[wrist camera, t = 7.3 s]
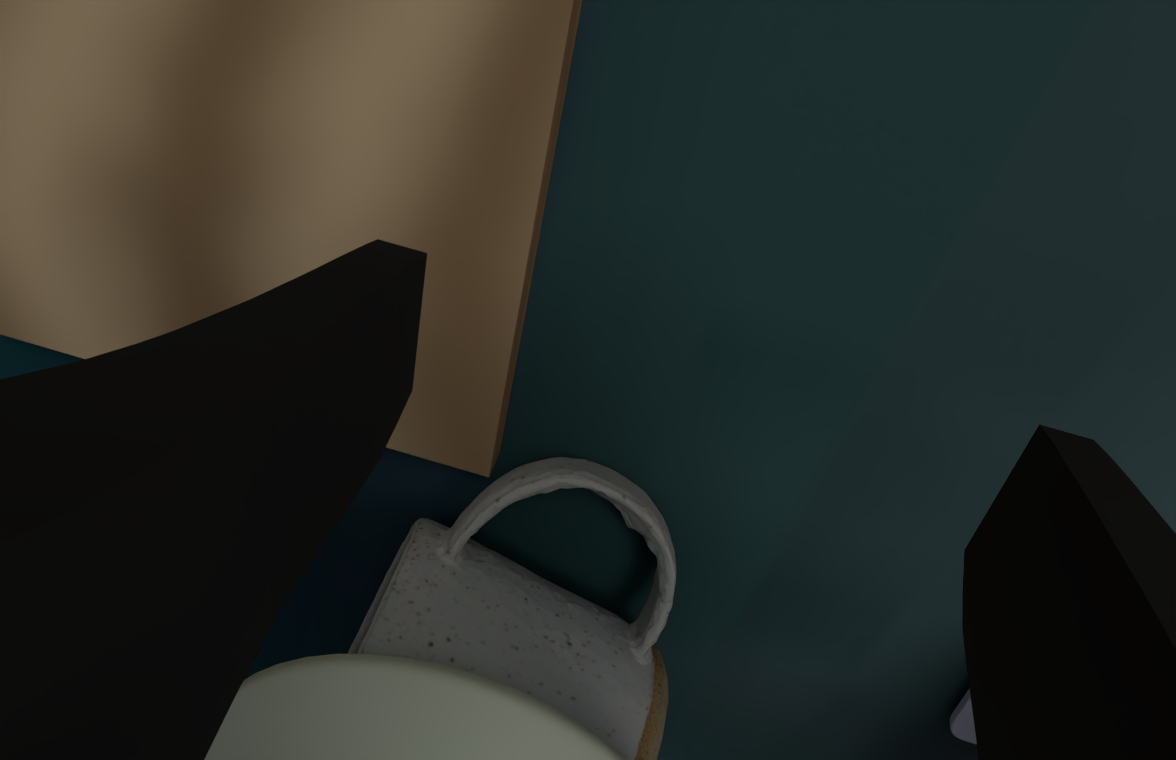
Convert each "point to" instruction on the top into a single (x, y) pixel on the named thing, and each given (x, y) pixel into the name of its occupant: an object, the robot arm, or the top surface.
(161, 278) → the trivet
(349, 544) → the top surface
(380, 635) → the ceramic mug
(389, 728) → the lid
